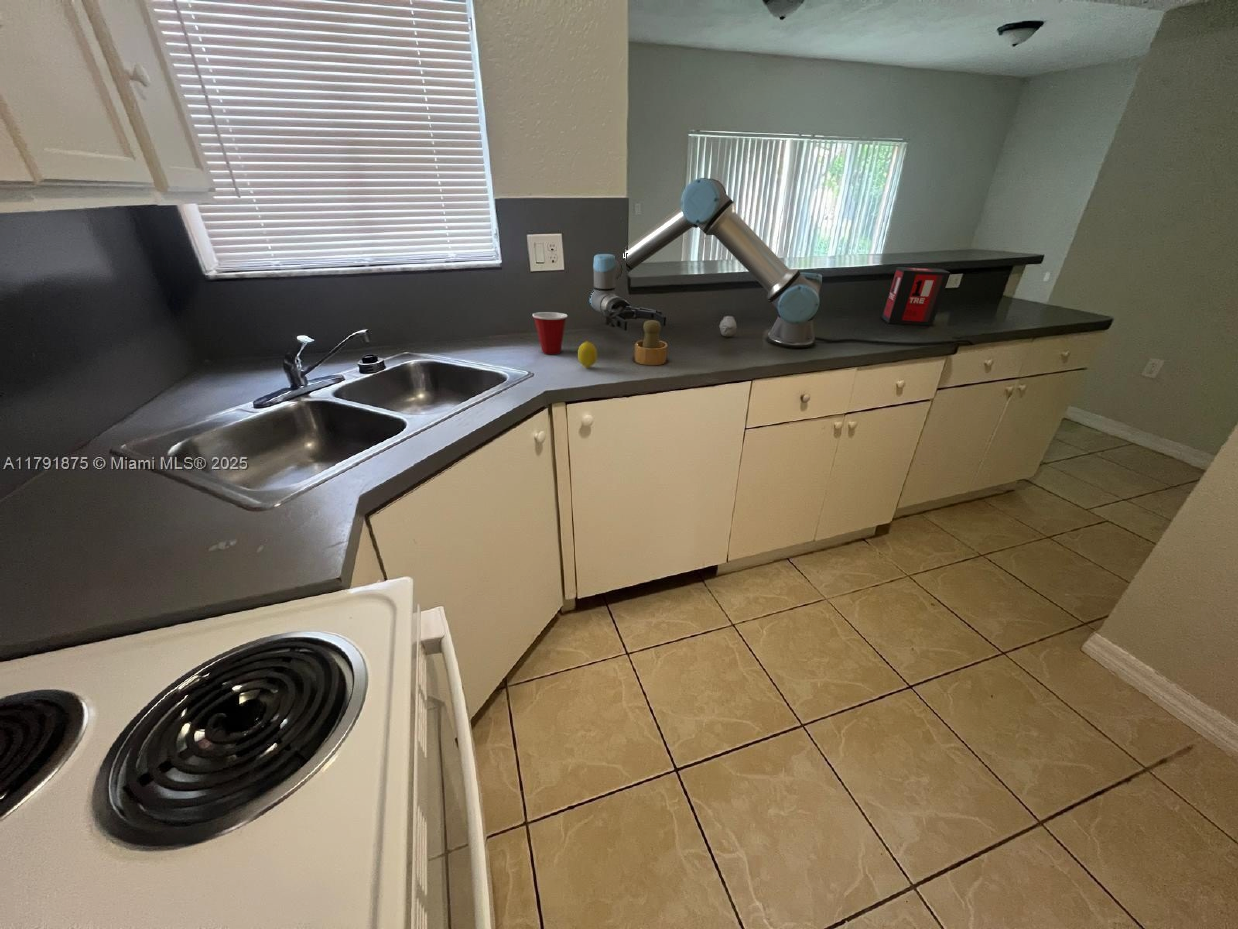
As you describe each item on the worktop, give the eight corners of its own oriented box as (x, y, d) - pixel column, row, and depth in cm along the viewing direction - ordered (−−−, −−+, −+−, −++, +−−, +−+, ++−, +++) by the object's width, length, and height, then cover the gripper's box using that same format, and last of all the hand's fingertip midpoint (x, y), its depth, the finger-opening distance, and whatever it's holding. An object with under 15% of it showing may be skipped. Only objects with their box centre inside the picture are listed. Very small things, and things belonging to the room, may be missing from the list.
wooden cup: (667, 356, 154) (669, 340, 151) (664, 366, 146) (665, 350, 143) (637, 353, 155) (638, 338, 153) (632, 363, 147) (632, 347, 145)
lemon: (582, 372, 140) (582, 345, 136) (575, 366, 144) (574, 339, 140) (600, 369, 142) (600, 342, 138) (592, 363, 146) (591, 337, 142)
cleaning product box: (924, 320, 201) (941, 268, 191) (932, 325, 194) (950, 272, 183) (881, 317, 203) (896, 266, 193) (888, 323, 196) (904, 270, 186)
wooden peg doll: (660, 354, 152) (662, 318, 147) (659, 360, 147) (662, 324, 142) (641, 353, 153) (642, 317, 147) (640, 359, 148) (641, 323, 142)
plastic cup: (574, 348, 159) (573, 311, 153) (560, 358, 150) (558, 319, 144) (544, 344, 162) (542, 308, 155) (528, 354, 153) (525, 315, 147)
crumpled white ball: (732, 333, 178) (735, 314, 174) (737, 339, 172) (740, 319, 168) (716, 333, 178) (718, 314, 174) (720, 339, 172) (723, 319, 168)
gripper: (647, 316, 172) (679, 331, 155) (582, 323, 162) (608, 340, 146) (648, 294, 168) (681, 307, 152) (581, 299, 158) (608, 314, 142)
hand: (645, 323), depth 149 cm, fingers open, 13 cm apart
